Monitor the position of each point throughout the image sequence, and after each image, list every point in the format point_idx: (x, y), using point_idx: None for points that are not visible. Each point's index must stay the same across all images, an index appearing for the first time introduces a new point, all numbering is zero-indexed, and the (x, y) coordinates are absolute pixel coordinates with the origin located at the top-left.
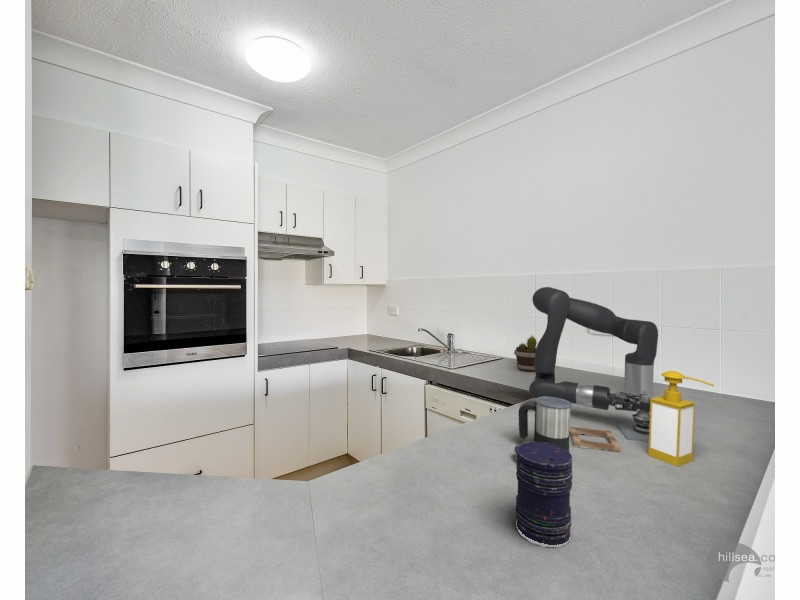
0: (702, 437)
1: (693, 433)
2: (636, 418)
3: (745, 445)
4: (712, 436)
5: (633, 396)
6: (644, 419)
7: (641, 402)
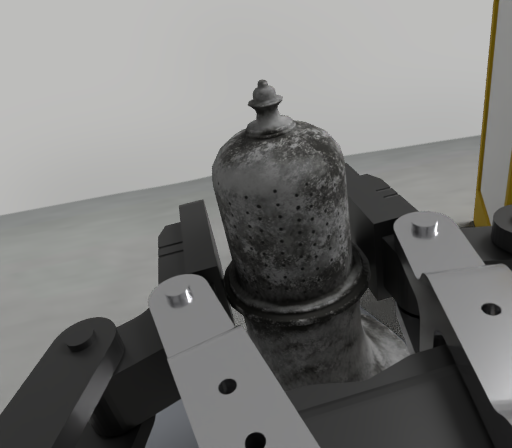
0: (129, 281)
1: (486, 100)
2: None
3: (134, 211)
4: (89, 269)
5: (95, 383)
6: (386, 337)
7: (380, 215)
